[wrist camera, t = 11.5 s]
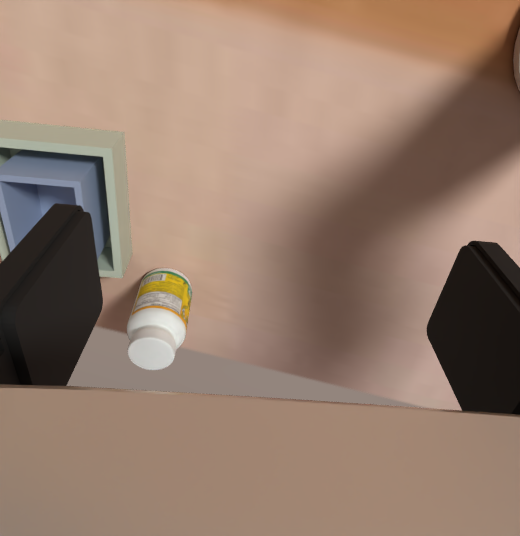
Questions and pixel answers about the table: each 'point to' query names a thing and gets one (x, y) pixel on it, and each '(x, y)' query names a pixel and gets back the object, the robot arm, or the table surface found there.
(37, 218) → the small crate
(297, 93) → the table surface
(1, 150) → the large crate
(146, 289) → the supplement bottle
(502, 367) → the robot arm
